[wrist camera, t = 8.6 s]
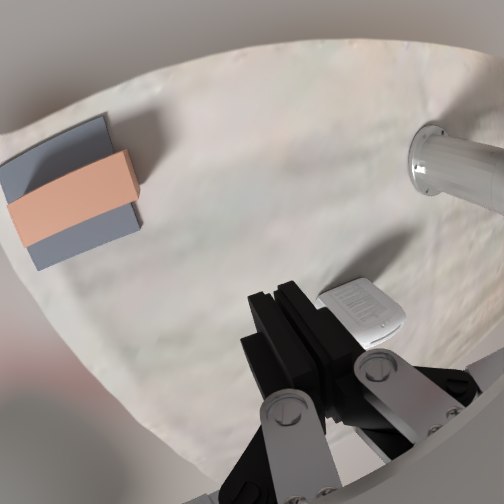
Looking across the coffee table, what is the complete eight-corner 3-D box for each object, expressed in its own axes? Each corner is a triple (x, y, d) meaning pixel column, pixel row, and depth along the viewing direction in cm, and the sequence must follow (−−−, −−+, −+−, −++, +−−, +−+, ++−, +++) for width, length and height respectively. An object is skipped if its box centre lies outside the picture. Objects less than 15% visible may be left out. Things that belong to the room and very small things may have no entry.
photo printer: (314, 315, 49) (355, 363, 38) (312, 295, 47) (356, 342, 36) (365, 293, 51) (410, 332, 40) (365, 272, 49) (414, 310, 38)
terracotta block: (122, 151, 26) (6, 205, 23) (138, 199, 28) (24, 248, 25) (127, 148, 30) (23, 195, 27) (140, 189, 32) (38, 232, 30)
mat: (103, 116, 28) (102, 116, 28) (140, 228, 35) (140, 229, 34) (-2, 169, 25) (-4, 169, 25) (39, 269, 32) (38, 271, 31)
